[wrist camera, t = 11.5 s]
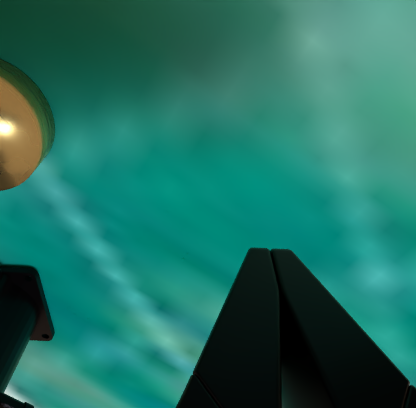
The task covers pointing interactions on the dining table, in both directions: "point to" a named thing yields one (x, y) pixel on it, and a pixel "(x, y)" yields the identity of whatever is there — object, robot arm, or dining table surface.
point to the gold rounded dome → (22, 126)
